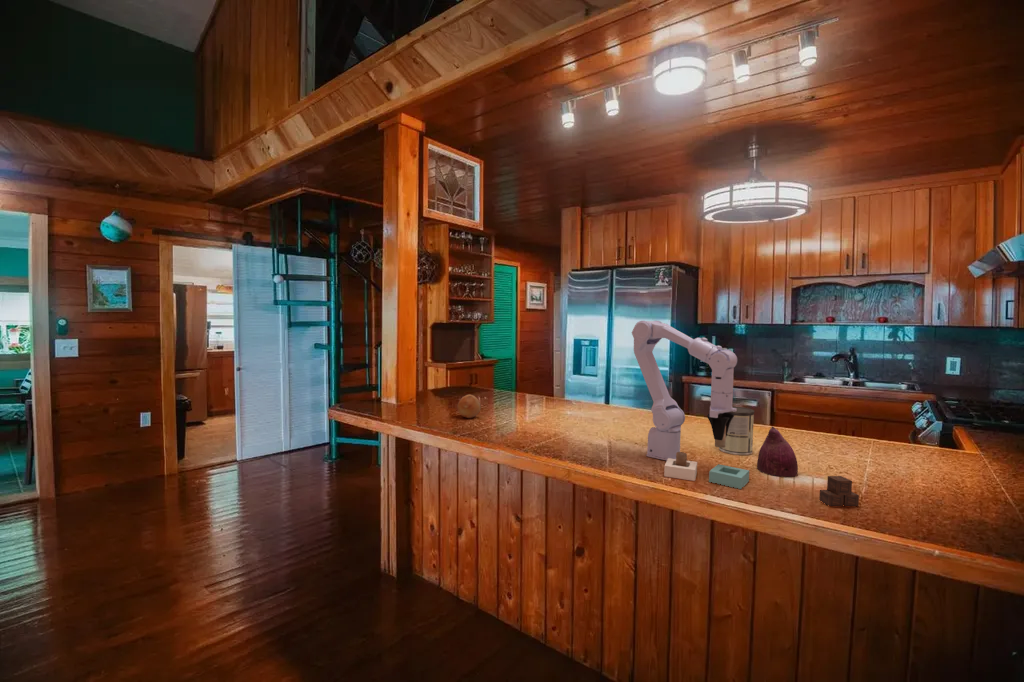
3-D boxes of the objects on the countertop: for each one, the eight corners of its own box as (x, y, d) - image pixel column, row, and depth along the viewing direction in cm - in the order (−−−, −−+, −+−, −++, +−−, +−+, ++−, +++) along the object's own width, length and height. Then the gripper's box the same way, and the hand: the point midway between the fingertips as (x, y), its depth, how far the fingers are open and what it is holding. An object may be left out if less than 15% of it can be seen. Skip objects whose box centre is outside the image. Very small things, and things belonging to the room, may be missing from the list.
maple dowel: (713, 446, 136) (714, 419, 135) (716, 444, 138) (717, 417, 137) (723, 448, 134) (724, 420, 133) (726, 446, 136) (727, 418, 136)
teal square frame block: (708, 481, 127) (709, 471, 126) (718, 474, 133) (718, 464, 133) (740, 489, 121) (741, 478, 121) (748, 481, 128) (749, 470, 127)
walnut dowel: (674, 474, 132) (674, 453, 132) (677, 472, 134) (678, 451, 134) (683, 476, 131) (684, 455, 130) (687, 474, 133) (688, 453, 132)
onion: (455, 416, 204) (455, 393, 204) (477, 414, 207) (477, 392, 207) (459, 420, 195) (459, 397, 195) (482, 419, 198) (483, 396, 197)
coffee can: (714, 445, 162) (715, 405, 162) (745, 447, 161) (747, 406, 161) (724, 454, 152) (726, 411, 151) (757, 456, 151) (759, 412, 150)
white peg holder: (664, 476, 131) (664, 465, 130) (667, 468, 138) (668, 458, 138) (694, 481, 127) (695, 470, 127) (696, 472, 134) (697, 461, 134)
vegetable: (777, 489, 131) (774, 440, 127) (749, 472, 141) (746, 427, 137) (807, 477, 133) (805, 429, 130) (778, 461, 143) (775, 416, 139)
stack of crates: (840, 492, 122) (842, 466, 122) (888, 517, 107) (890, 487, 107) (784, 492, 122) (785, 466, 121) (824, 517, 107) (826, 487, 106)
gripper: (729, 396, 127) (727, 446, 128) (743, 390, 138) (741, 436, 139) (702, 393, 131) (700, 441, 132) (718, 388, 143) (716, 432, 143)
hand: (720, 438), depth 136 cm, fingers closed on maple dowel, 3 cm apart
